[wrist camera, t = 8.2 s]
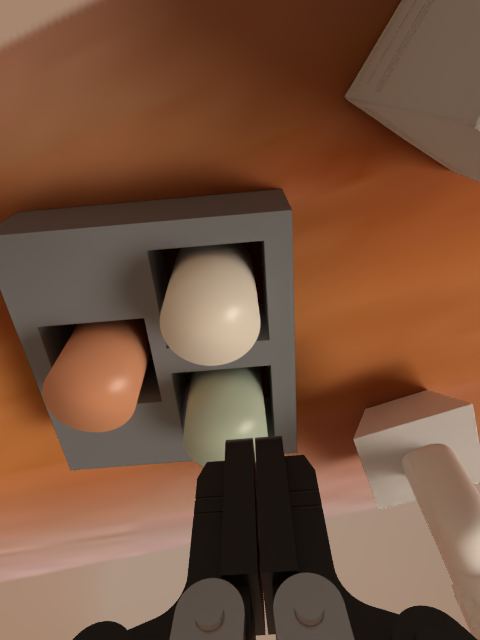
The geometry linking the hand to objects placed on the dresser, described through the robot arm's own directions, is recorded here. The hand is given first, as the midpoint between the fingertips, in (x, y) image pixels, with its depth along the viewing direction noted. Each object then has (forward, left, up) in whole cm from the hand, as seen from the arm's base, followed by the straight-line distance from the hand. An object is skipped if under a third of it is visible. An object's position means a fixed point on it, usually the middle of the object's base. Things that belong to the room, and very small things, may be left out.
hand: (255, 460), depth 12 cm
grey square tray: (+5, +4, -15) cm, 16 cm away
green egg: (+2, +7, -14) cm, 16 cm away
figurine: (-10, +13, -15) cm, 23 cm away
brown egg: (+8, +4, -14) cm, 17 cm away
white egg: (+2, 0, -14) cm, 14 cm away
